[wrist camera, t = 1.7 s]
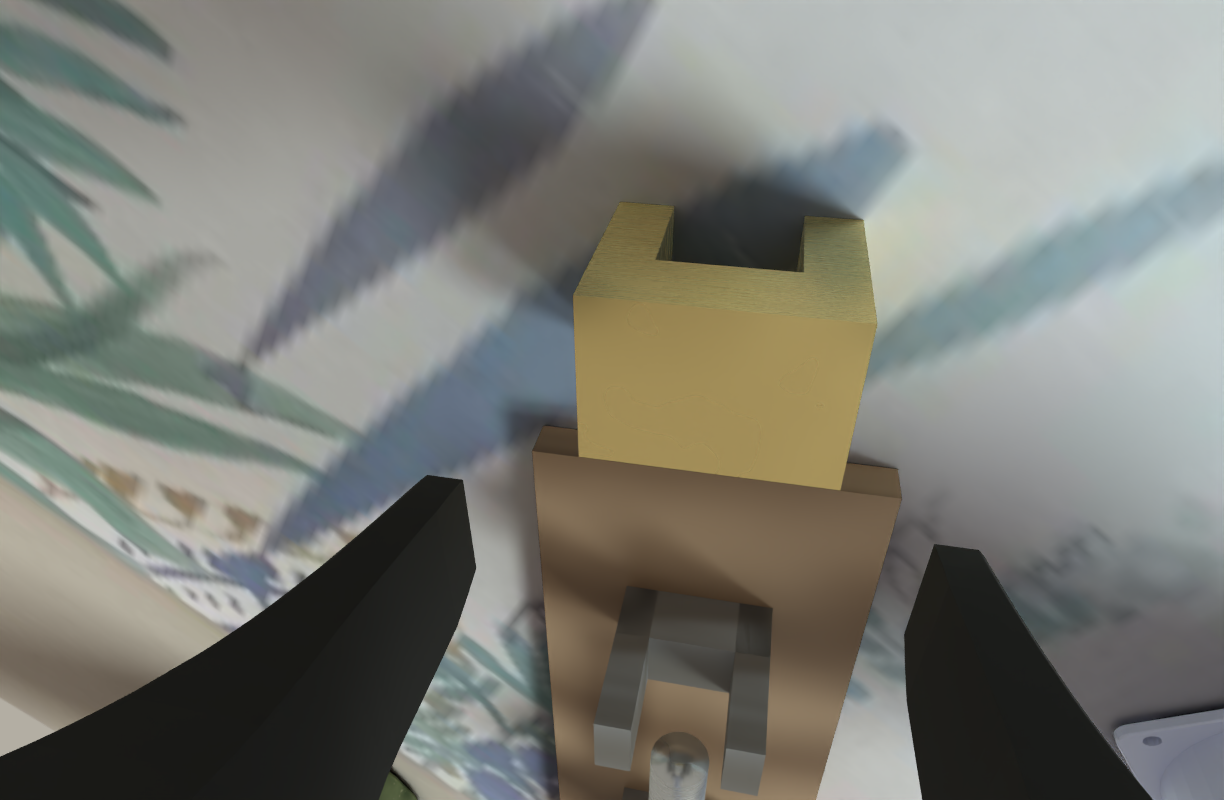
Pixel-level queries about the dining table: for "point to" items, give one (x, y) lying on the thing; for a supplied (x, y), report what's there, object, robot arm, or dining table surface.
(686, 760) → the shaft
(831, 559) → the shaft bracket
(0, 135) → the dining table surface
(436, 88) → the dining table surface
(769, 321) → the spacer
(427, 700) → the dining table surface
